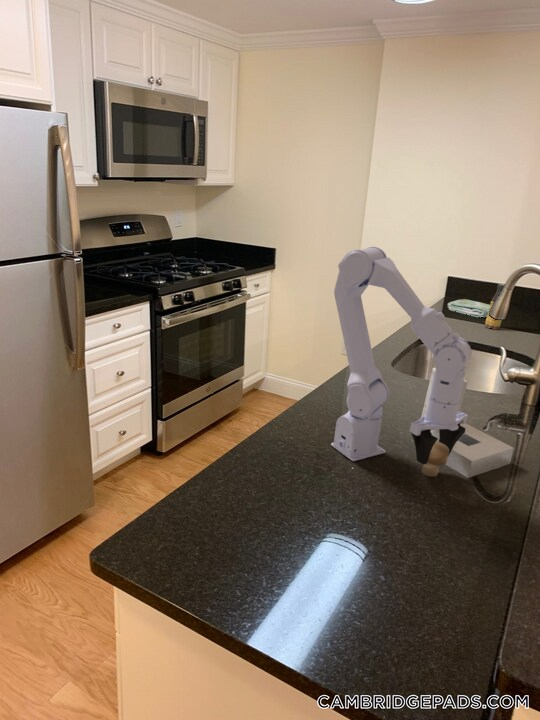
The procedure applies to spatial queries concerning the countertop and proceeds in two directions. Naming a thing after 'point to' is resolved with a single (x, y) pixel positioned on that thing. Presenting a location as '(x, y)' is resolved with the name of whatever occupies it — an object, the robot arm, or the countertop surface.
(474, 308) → the towel
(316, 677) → the countertop surface
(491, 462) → the block
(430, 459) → the pin
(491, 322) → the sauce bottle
